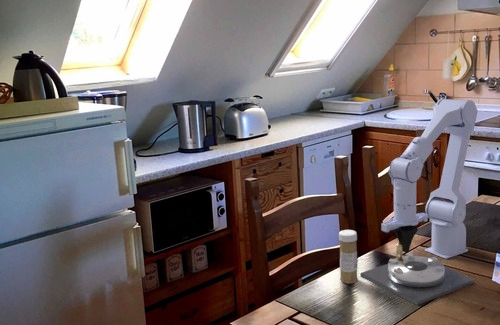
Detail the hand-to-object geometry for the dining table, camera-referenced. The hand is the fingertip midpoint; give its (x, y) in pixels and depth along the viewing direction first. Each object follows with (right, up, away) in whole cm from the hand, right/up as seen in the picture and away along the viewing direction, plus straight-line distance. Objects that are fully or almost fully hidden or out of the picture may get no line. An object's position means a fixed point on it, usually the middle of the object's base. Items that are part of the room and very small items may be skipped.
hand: (404, 251), depth 146 cm
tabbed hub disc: (+1, -5, -5) cm, 8 cm away
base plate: (+2, -7, -5) cm, 8 cm away
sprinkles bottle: (-16, -7, -3) cm, 18 cm away
